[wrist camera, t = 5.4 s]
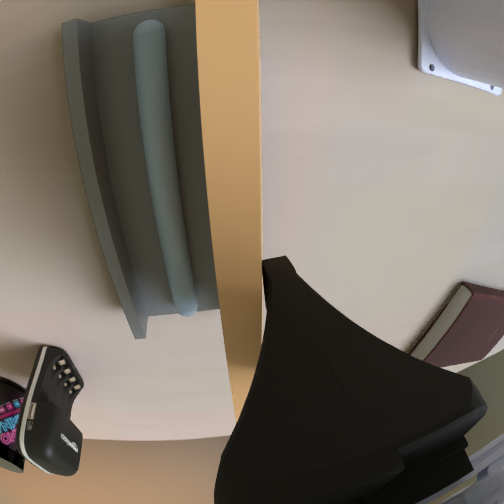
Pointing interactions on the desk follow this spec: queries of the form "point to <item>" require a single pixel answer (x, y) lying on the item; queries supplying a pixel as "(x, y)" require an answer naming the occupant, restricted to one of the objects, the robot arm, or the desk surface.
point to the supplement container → (10, 425)
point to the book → (464, 328)
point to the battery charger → (50, 414)
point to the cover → (234, 175)
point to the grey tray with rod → (144, 157)
